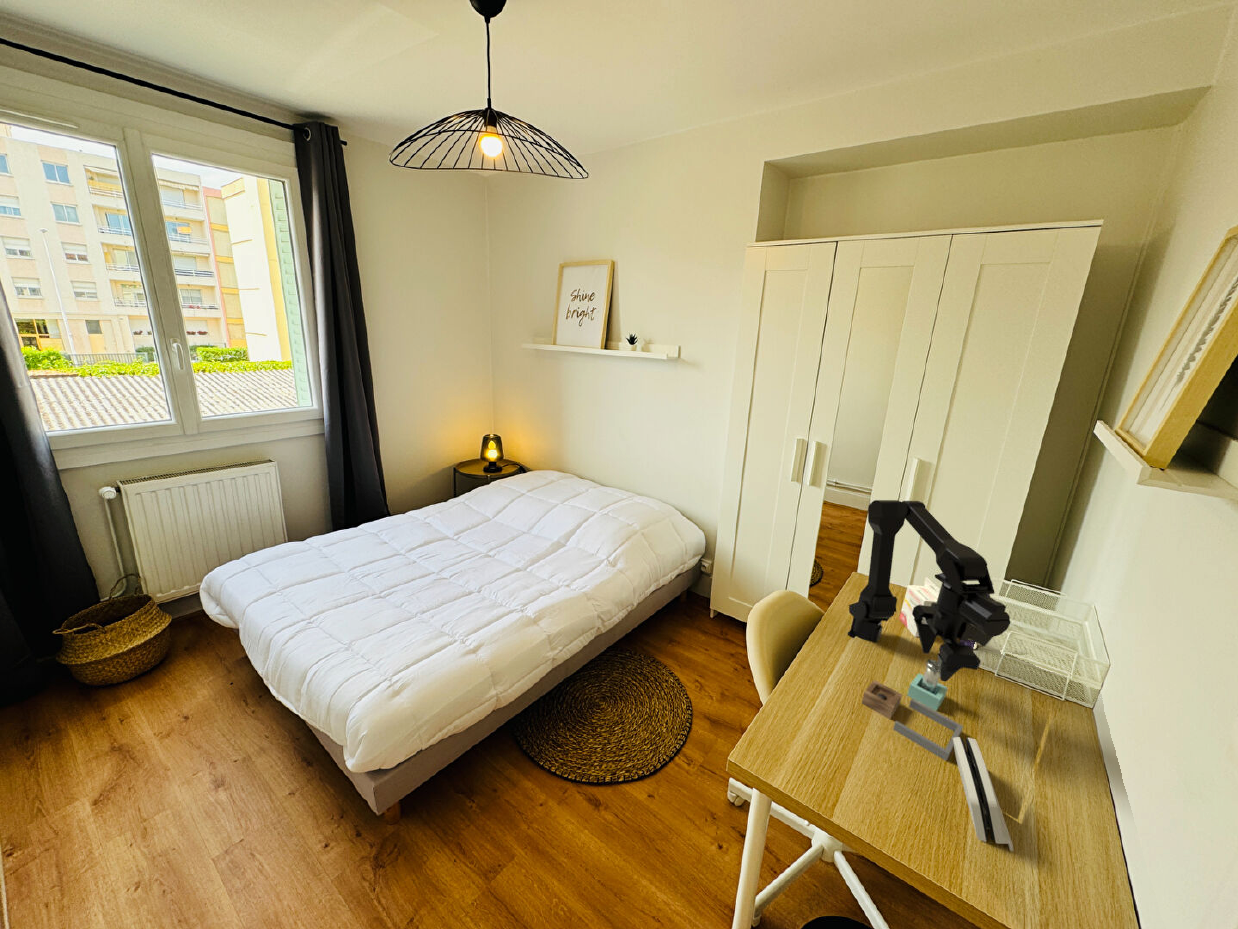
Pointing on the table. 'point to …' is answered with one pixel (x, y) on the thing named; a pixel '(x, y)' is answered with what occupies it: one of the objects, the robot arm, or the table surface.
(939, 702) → the teal block
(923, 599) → the ink cartridge box
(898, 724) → the grey u-shaped bracket
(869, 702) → the walnut block
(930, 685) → the metal cylinder peg
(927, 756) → the table surface
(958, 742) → the grey slotted housing
